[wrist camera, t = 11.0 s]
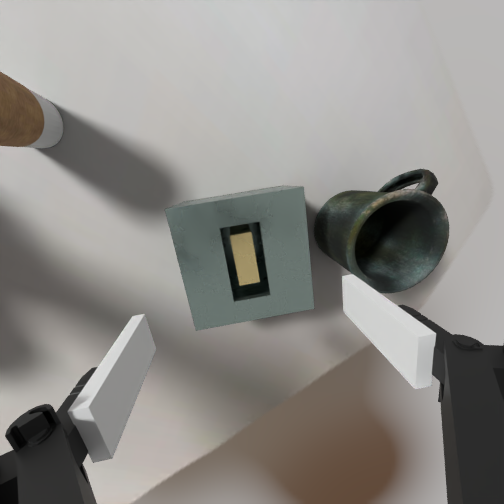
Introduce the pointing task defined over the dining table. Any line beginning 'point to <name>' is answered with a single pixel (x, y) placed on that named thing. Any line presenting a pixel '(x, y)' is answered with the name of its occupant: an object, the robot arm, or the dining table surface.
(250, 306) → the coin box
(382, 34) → the dining table surface
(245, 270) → the tan rectangular block
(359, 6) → the dining table surface
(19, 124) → the coffee cup
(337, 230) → the mug
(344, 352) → the dining table surface
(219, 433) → the dining table surface
